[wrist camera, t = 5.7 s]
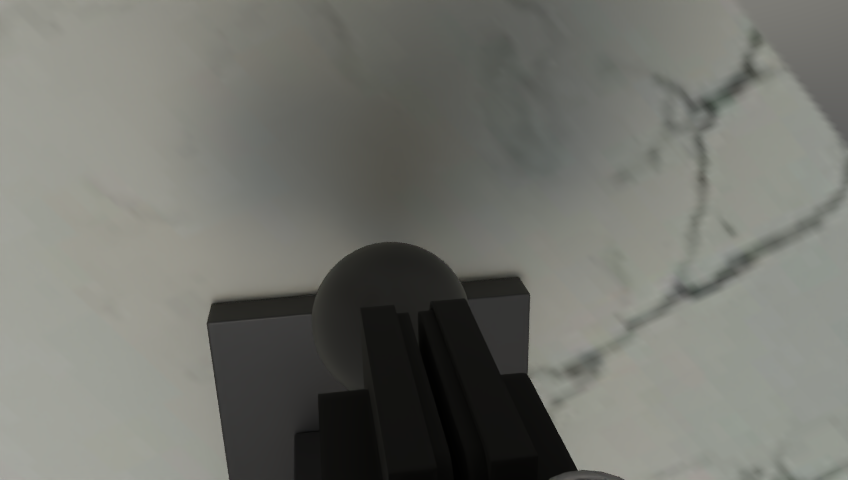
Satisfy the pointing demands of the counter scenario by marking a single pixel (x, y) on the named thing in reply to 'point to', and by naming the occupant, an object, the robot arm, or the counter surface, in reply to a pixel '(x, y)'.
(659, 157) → the counter surface
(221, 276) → the counter surface
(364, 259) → the ball-topped lever switch
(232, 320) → the ball-topped lever switch base
